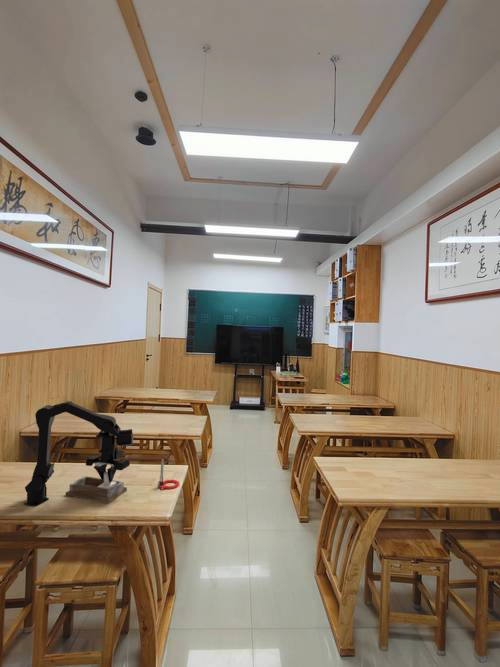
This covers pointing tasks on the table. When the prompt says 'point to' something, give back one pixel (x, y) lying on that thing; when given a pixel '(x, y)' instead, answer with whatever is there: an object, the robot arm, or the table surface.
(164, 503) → the table surface
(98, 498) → the brown tray
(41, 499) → the robot arm
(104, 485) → the keeper
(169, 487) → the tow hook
